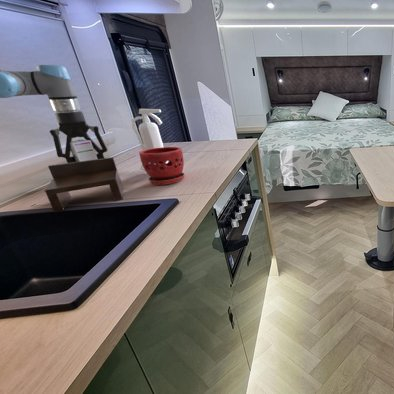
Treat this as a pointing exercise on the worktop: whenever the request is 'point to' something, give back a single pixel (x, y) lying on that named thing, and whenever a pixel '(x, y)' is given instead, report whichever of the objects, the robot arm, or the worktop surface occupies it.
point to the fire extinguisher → (148, 130)
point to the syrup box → (82, 150)
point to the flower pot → (163, 164)
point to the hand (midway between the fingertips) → (90, 171)
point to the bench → (82, 180)
